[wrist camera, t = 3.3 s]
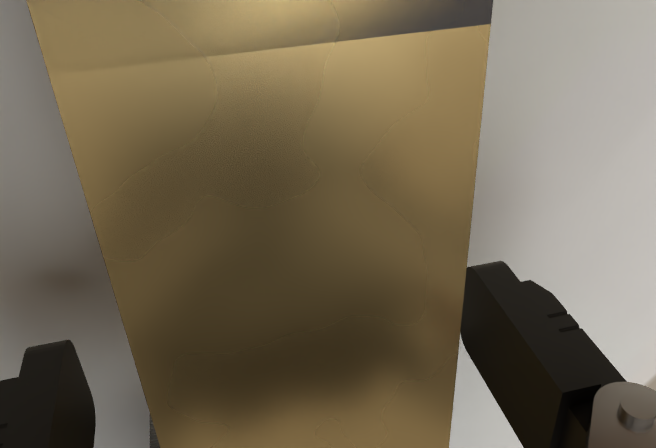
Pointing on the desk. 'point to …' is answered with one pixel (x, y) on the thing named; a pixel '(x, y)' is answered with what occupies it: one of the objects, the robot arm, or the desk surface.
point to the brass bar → (280, 206)
